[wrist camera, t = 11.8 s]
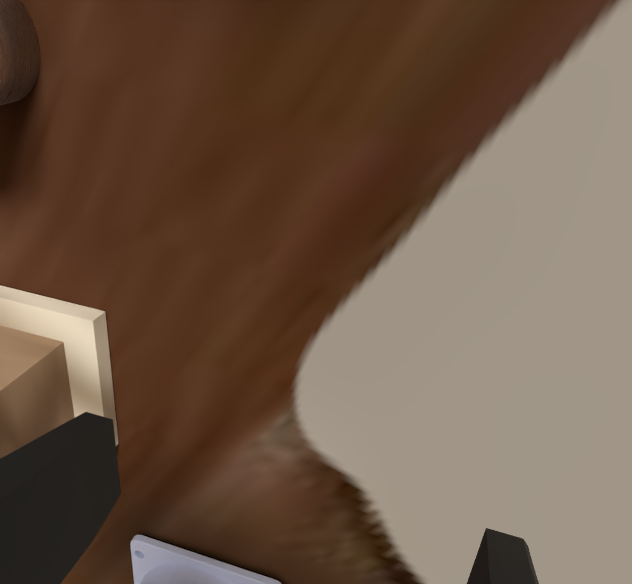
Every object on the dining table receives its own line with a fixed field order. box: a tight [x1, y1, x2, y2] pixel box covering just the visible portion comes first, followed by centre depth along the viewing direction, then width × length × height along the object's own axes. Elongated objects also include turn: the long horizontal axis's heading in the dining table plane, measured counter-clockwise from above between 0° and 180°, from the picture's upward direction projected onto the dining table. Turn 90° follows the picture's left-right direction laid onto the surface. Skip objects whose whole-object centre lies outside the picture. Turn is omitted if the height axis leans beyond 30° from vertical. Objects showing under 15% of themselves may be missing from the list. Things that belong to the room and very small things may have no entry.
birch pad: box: [0, 286, 119, 446], centre depth 24 cm, size 7×7×1 cm
